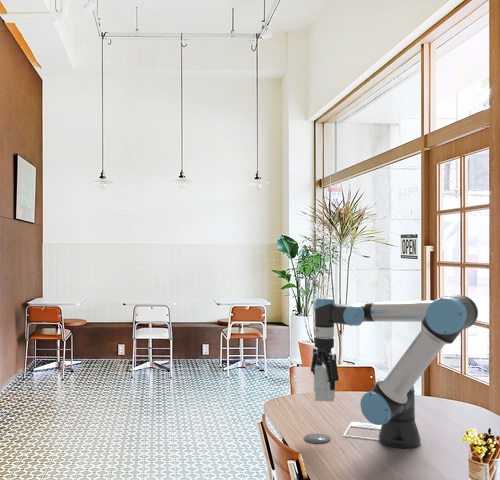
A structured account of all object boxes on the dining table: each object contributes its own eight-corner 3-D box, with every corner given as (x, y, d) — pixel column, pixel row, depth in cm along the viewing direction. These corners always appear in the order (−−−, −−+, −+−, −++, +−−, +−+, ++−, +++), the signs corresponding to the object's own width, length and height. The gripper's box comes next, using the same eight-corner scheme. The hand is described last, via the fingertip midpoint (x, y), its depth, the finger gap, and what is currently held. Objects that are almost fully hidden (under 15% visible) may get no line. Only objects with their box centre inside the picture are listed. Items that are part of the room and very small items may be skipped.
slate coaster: (335, 441, 194) (335, 439, 194) (313, 445, 190) (313, 444, 190) (321, 433, 203) (321, 431, 203) (299, 437, 199) (299, 435, 199)
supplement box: (333, 396, 202) (333, 364, 203) (333, 402, 195) (334, 369, 195) (314, 395, 204) (315, 364, 204) (314, 401, 196) (314, 368, 197)
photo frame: (387, 425, 210) (381, 439, 193) (387, 427, 210) (381, 442, 193) (351, 421, 215) (343, 434, 199) (351, 423, 215) (343, 437, 199)
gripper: (302, 333, 209) (302, 388, 208) (331, 342, 188) (330, 403, 188) (318, 332, 212) (318, 386, 211) (348, 341, 191) (348, 401, 190)
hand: (324, 394), depth 199 cm, fingers closed on supplement box, 10 cm apart
